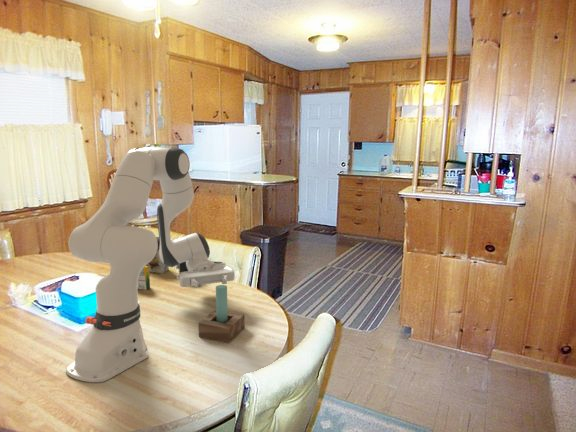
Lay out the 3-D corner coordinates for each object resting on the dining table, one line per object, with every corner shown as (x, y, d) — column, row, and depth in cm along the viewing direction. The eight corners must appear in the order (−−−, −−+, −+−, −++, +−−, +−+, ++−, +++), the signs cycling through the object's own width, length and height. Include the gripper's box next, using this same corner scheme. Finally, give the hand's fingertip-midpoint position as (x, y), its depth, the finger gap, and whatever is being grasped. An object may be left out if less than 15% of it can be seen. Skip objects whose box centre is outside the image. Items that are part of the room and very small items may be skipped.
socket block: (228, 343, 126) (228, 328, 125) (199, 336, 130) (198, 322, 129) (244, 328, 136) (244, 314, 135) (216, 322, 140) (216, 309, 139)
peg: (224, 335, 131) (223, 289, 127) (214, 333, 132) (213, 288, 129) (229, 330, 134) (229, 285, 131) (220, 329, 135) (219, 284, 132)
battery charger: (192, 276, 185) (191, 253, 182) (195, 279, 181) (194, 255, 179) (177, 279, 181) (176, 255, 179) (180, 282, 178) (179, 257, 176)
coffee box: (145, 271, 191) (143, 239, 188) (153, 267, 197) (151, 235, 194) (161, 273, 188) (159, 240, 185) (169, 269, 194) (167, 237, 191)
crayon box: (150, 287, 171) (149, 261, 169) (146, 290, 168) (144, 263, 166) (135, 285, 173) (134, 260, 171) (131, 288, 170) (129, 262, 168)
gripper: (175, 267, 149) (181, 278, 136) (228, 261, 157) (239, 271, 145) (175, 283, 150) (182, 296, 138) (228, 276, 158) (239, 288, 146)
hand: (211, 283), depth 141 cm, fingers open, 8 cm apart
